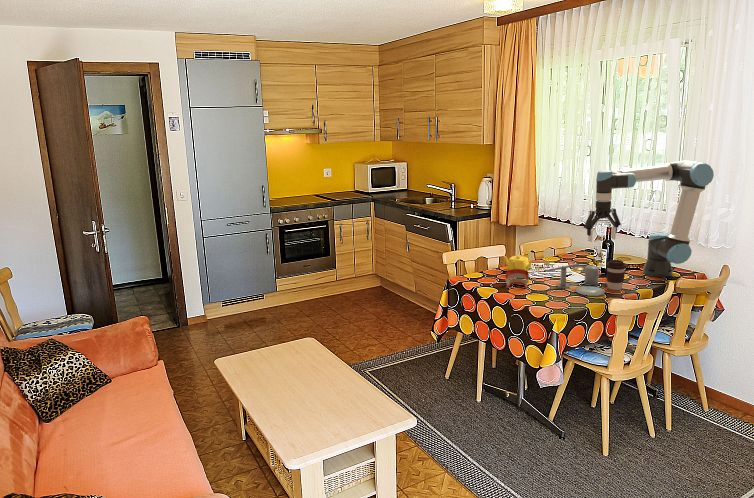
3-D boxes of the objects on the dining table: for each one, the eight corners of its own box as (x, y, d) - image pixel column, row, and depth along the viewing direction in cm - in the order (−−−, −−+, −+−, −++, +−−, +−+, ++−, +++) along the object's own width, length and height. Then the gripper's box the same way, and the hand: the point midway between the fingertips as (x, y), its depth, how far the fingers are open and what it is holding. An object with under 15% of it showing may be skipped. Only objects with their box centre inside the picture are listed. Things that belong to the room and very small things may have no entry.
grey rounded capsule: (596, 281, 309) (597, 265, 307) (599, 285, 302) (600, 269, 300) (583, 281, 310) (584, 265, 308) (586, 285, 303) (586, 269, 301)
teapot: (535, 273, 328) (535, 257, 326) (513, 275, 325) (513, 259, 323) (523, 266, 342) (523, 251, 340) (501, 269, 339) (502, 254, 337)
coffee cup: (626, 291, 290) (628, 264, 286) (606, 291, 292) (608, 263, 288) (622, 285, 300) (624, 258, 296) (603, 285, 302) (604, 258, 298)
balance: (581, 284, 304) (582, 261, 301) (583, 288, 298) (585, 264, 295) (542, 284, 307) (543, 261, 304) (544, 288, 301) (544, 264, 298)
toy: (529, 283, 311) (530, 269, 309) (528, 289, 302) (528, 274, 300) (507, 281, 315) (507, 268, 313) (504, 287, 306) (505, 273, 304)
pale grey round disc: (600, 288, 297) (601, 286, 297) (607, 297, 284) (607, 294, 283) (573, 288, 299) (573, 286, 299) (578, 296, 286) (579, 294, 285)
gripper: (620, 197, 296) (618, 236, 301) (577, 201, 291) (576, 240, 297) (629, 199, 289) (627, 239, 294) (585, 203, 284) (584, 244, 290)
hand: (601, 240), depth 295 cm, fingers open, 13 cm apart
